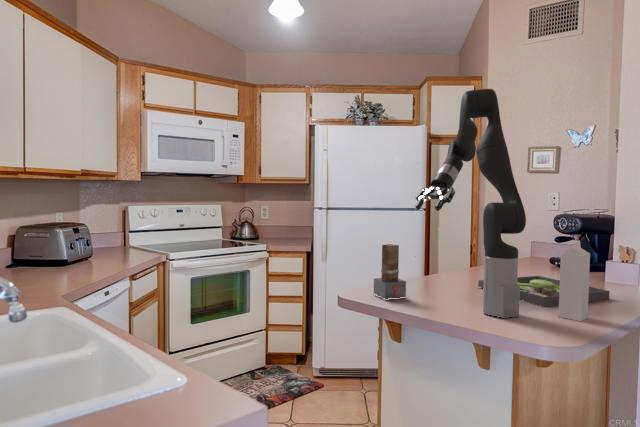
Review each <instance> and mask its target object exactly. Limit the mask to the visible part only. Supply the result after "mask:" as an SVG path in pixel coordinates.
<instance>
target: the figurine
mask: <svg viewBox="0 0 640 427" xmlns="http://www.w3.org/2000/svg"><path fill="white" fill-rule="evenodd" d="M517 284H519V285H520V290H521V291H524V292H528V293H531V292H530V289H528V288H531V289H532V290H534V291H535V290H537V292H540V291H541V293H543V294H545V293H546V292H545V289H546V290H547V289H551V291H553V292H557V291H559V290H560V286H558V285H555V284H554V283H552V282H549V281H546V280H537V279H536V280H531V281H530V283H520V280H518V281H517Z"/></svg>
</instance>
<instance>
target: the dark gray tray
mask: <svg viewBox="0 0 640 427" xmlns="http://www.w3.org/2000/svg"><path fill="white" fill-rule="evenodd" d="M536 279H537V280H546V281H549V282H552V283H554V284H555V285H558V286H560V279H555V278H550V277H546V276H545V277H544V276H541V275H531V276H530V275H529V276H517V281H518V280H520V283H530V281H531V280H536ZM477 286H478V287H481V288H484V279H478V285H477ZM521 300H524V301H523V302H525V301H527V302H526V303H528V302H530V303H529V304H532V303H534V304H533V305H535V304H537V305H536V306H539V305H541V306H540V307H542V306H548V307H555V306H556V305H557V306H559V294H558V295H548V296H542V295H539V294H535V293H531V292H529V293H528V292H526V291H524V290H520V301H521ZM609 300H610V290H606V289H602V288H597V287H593V286H589V296H588V303H591V302H602V301H609Z"/></svg>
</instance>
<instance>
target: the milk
mask: <svg viewBox="0 0 640 427" xmlns="http://www.w3.org/2000/svg"><path fill="white" fill-rule="evenodd" d="M590 263H591V253H590V252H588V251H587V250H585V249H584V248H582V247H581V246H580V242H579V241H576V242H572V243H571V248H568V249H567V250H565V251H562V252H560V265H559V266H560V267H559V280H560V290H558V291H559V293H558V295H559V305H558V318H561V319H562V318H563V319H566V318H567V320H571V319H572V320H571V321H576V320H577V322H582V321H584V320H586V319H587V318H589V302H588V296H589V287H590V266H591V264H590Z"/></svg>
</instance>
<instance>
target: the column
mask: <svg viewBox="0 0 640 427" xmlns="http://www.w3.org/2000/svg"><path fill="white" fill-rule="evenodd" d="M399 249H400V248H399V244H390V243H387V244H382V246H381V269H380V270H381V278H382V280H386V281H396V280H398V279H399V273H400V272H399V271H400V269H399V261H400V260H399V256H400V250H399Z"/></svg>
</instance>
